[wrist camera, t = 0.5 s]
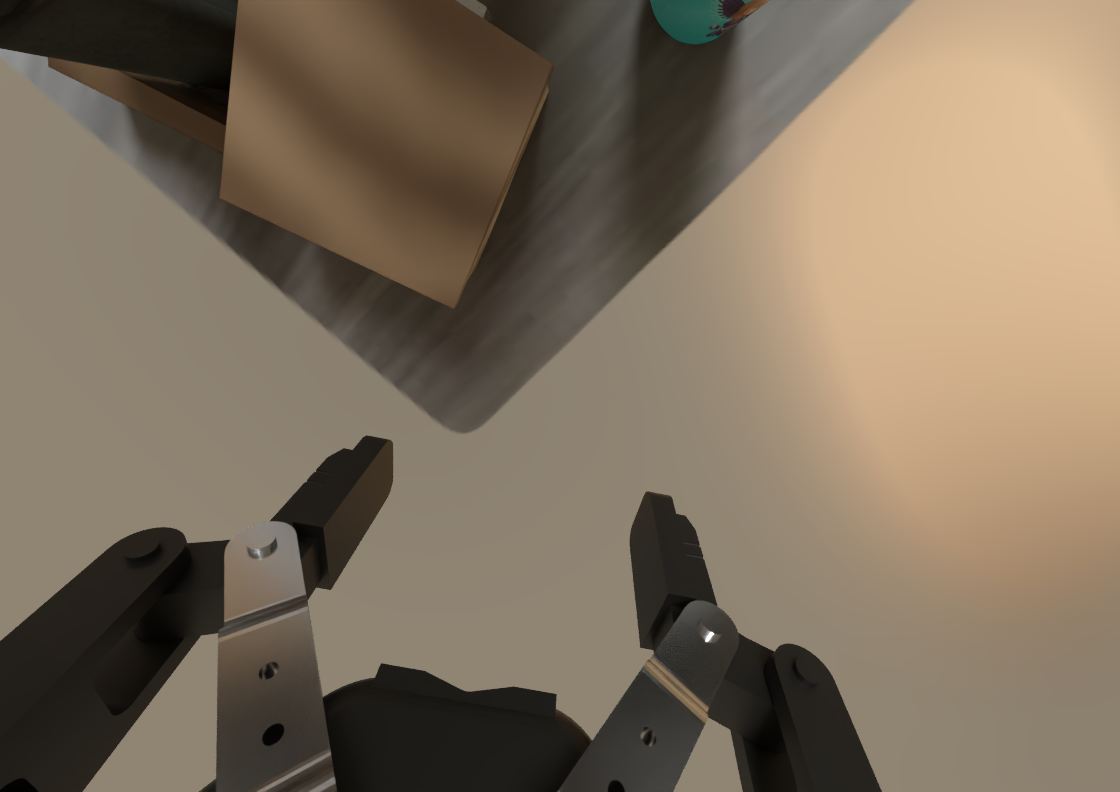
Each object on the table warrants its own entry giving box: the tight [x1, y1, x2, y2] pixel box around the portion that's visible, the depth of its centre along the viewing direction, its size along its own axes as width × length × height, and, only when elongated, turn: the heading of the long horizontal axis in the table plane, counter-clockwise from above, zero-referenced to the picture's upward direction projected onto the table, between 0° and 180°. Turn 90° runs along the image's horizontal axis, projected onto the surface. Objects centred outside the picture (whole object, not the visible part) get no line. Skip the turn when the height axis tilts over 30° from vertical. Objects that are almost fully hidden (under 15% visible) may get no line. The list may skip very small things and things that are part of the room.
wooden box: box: [48, 0, 553, 309], centre depth 22 cm, size 14×24×8 cm, turn 63°
